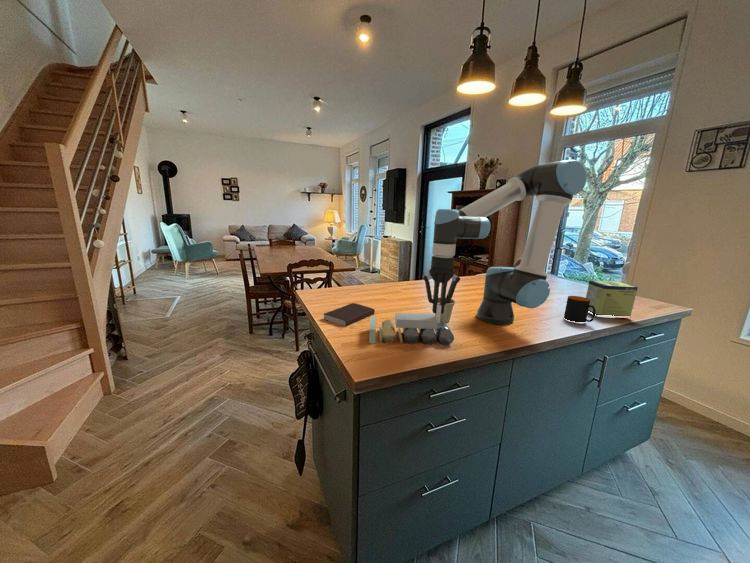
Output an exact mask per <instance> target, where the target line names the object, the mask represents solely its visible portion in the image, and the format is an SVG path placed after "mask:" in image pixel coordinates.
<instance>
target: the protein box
mask: <svg viewBox="0 0 750 563" xmlns="http://www.w3.org/2000/svg"><path fill="white" fill-rule="evenodd" d="M638 287H639V286H635V285H632V284H629V283H626V282H622V281H610V280H609V281H608V280H607V281H606V280H605V281H604V280H589V281H588V286H587V290H586V295H585V298H588V299H590V304H589V305H592V306H594V308H595V310H596V312H595V314H596V315H612V316H613V315H614V316H630V317H631V316H632V312H633V308H634V305H635V301H636V300H635V299H636V295H637V292H638V289H639V288H638ZM588 311H590V312H592V313H593V308H592V307H589V309H588Z"/></svg>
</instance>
